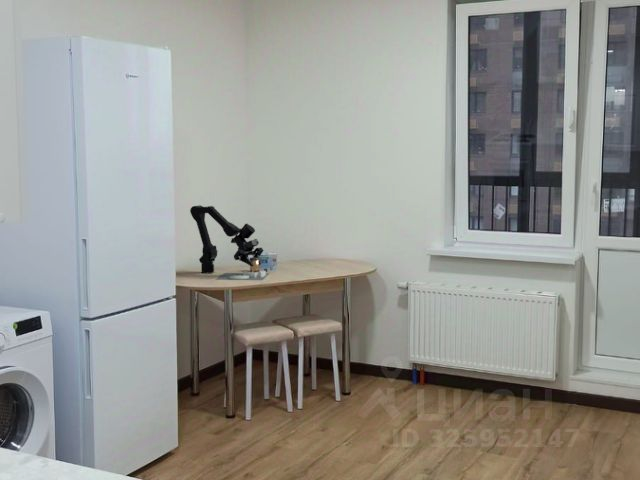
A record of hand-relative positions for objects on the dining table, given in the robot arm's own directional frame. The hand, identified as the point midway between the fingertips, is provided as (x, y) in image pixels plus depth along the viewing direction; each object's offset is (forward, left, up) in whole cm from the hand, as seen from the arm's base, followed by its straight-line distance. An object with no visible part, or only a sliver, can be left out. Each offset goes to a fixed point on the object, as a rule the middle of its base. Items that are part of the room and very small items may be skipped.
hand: (256, 265), depth 429 cm
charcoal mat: (-7, -2, -7) cm, 10 cm away
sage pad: (-8, -8, -7) cm, 13 cm away
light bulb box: (+3, +20, -7) cm, 21 cm away
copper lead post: (-1, +1, -6) cm, 6 cm away
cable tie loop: (0, 0, -6) cm, 6 cm away
